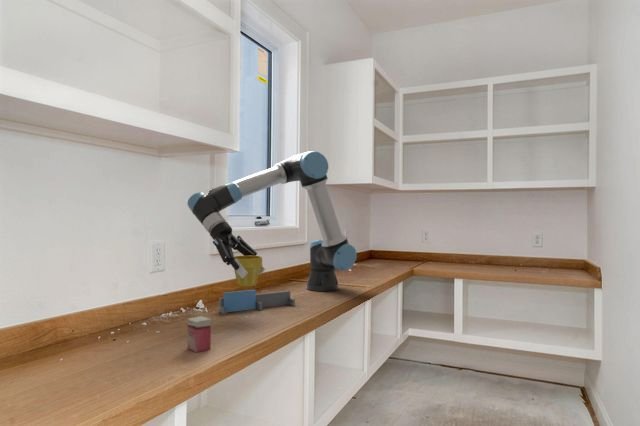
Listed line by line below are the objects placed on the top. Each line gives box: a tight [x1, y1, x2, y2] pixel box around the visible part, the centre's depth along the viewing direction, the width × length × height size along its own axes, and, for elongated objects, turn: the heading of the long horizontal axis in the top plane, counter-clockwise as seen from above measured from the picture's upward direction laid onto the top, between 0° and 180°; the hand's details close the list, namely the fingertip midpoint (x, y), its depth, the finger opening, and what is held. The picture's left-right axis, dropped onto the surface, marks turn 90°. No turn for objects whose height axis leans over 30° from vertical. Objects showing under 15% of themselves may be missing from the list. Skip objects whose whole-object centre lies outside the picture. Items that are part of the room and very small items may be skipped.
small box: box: [186, 315, 212, 353], centre depth 108 cm, size 5×4×8 cm
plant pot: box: [233, 255, 263, 287], centre depth 144 cm, size 10×10×10 cm
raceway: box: [218, 289, 296, 316], centre depth 154 cm, size 28×5×7 cm, turn 121°
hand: (254, 273), depth 143 cm, fingers closed on plant pot, 10 cm apart
